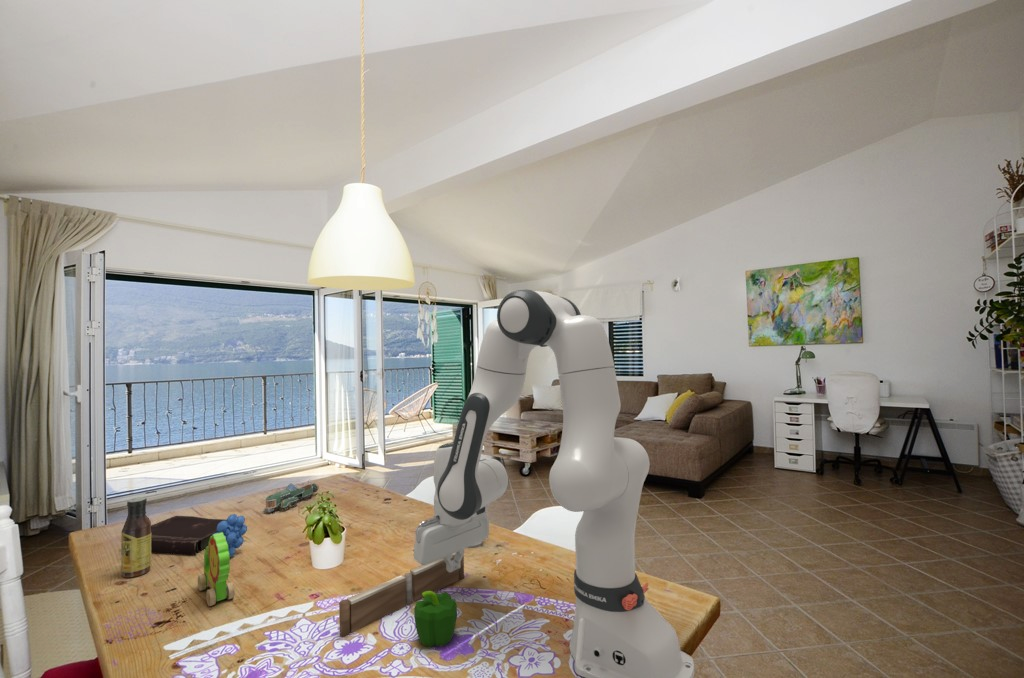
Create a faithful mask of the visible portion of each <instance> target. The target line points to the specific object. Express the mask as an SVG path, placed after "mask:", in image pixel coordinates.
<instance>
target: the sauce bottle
mask: <svg viewBox="0 0 1024 678" xmlns="http://www.w3.org/2000/svg"><path fill="white" fill-rule="evenodd" d="M147 501H148V500H147V497H145V496H140V497H139V496H137V497H133V498H131V499H128V500H127V501H126V506H127V517H126V520H125V522H124V525H123V527H122V530H121V546H120V547H121V551H120V552H121V553H120V554H121V556H120V557H121V574H122V575H121V576H122V577H124V578H127V579H130V578H136V577H140V576H143V575H145V574H147V573H148V572H150V570H151V565H152V553H151V525H152V522H151V520H150V518H149V517H148V515H146V514H147V511H146V507H147V506H146V504H147Z"/></svg>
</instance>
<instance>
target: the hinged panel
mask: <svg viewBox="0 0 1024 678" xmlns="http://www.w3.org/2000/svg"><path fill="white" fill-rule="evenodd" d="M455 554H456V552H455V553H453V554H452V558H450V559H451V561H452V560H454V557H455ZM464 556H465V554H464V555H463V557H462V560H461V567H460V568H459V569H457V570H455V571H453V572H451V573H450V572H448V571H447V570H446V563H445V561H444V559H443V558H441V559H439V560H437V561H434V562H432V563H430V564H427V565H422V564H420V565H419V566H416V567H414V568H412V569H410V570H409V573H411V574H412V602H418V601H420V600H421V599H424V597H423V595H422V593H423V592H425V591H432V592H435V593H436V592H438V591H439V590H442V589H443V588H445V587H448V586H450V585H452V584H454V583H456V582H458V581H459V580H464V579H465V557H464Z"/></svg>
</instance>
